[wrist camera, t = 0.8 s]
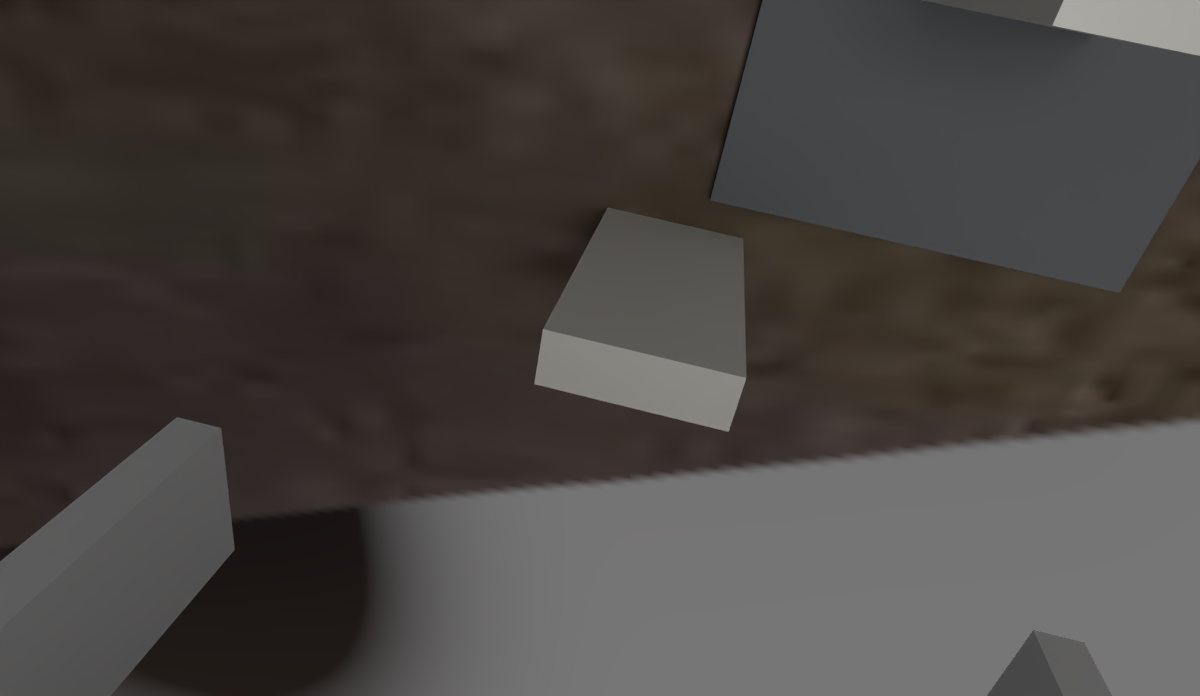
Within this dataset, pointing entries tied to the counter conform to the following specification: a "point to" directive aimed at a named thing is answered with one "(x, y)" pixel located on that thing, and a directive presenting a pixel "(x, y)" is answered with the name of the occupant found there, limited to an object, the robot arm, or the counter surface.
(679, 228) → the end domino
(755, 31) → the mat
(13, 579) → the robot arm
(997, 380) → the counter surface
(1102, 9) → the domino
